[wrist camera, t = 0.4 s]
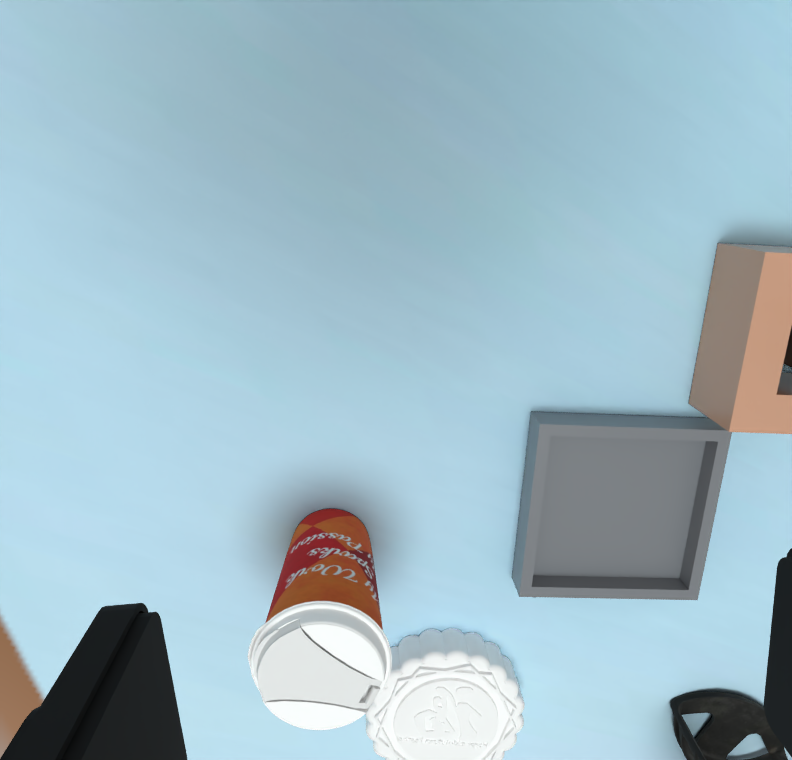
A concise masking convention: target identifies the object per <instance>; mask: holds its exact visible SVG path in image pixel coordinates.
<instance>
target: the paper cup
mask: <svg viewBox="0 0 792 760" xmlns="http://www.w3.org/2000/svg"><path fill="white" fill-rule="evenodd" d="M248 660H249V664H250V668H251V673H252V677H253V679H254V682H255V684H256V686H257V688H258V689H259V691H260V693H261V696H262V699H263V702H264V704H265V705H266V706H267V708H268V709H269V710H270V711H271V712H272V713H273V714H275V715H276V716H277V717H278V718H280V719H281V720H283V721H285V722H287V723H289V724H291V725H294V726H296V727H300V728H304V729H311V730H328V729H335V728H338V727H342V726H345V725H347V724H350V723H352V722H354V721H355V720H357V719H359V718H360V717H362V716H363V715H364V714H365V713H366V712H367V711H368V708H369V706H370V705H372V703H373V702H374V700H375V699H376V698H377V696H378V695H379V694H380V693H381V691H382V690H383V688H384V687H385V685H386V683H387V681H388V678H389V676H390V671H391V666H392V655H391V648H390V645H389V642H388V639H387V637H386V635H385V634H384V632H383V629H382V621H381V614H380V606H379V599H378V591H377V584H376V576H375V569H374V562H373V555H372V549H371V543H370V539H369V535H368V532H367V530H366V528H365V526H364V525H363V523H362V522H361V521H360V520H359V519H358V518H357V517H356V516H354V515H353V514H351V513H349V512H347V511H344V510H340V509H322V510H319V511H316V512H314V513H312V514H310V515H308V516H307V517H306V518H304V519H303V520H302V521H301V523H300V524H299V525H298V527H297V528H296V530H295V533H294V535H293V537H292V540H291V543H290V546H289V549H288V552H287V555H286V558H285V562H284V565H283V568H282V571H281V574H280V577H279V581H278V584H277V587H276V590H275V594H274V597H273V600H272V603H271V607H270V610H269V613H268V616H267V620H266V623H265V624H264V625H263V626H261V627H260V628H259V629H258V630H257V631H256V633H255V635H254V636H253V638H252V641H251V644H250V647H249V652H248Z"/></svg>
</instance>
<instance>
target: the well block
mask: <svg viewBox="0 0 792 760" xmlns="http://www.w3.org/2000/svg"><path fill="white" fill-rule="evenodd" d="M791 326H792V247H786V246H766V245H747V244H727V243H718V245H717V251H716V256H715V262H714V267H713V272H712V278H711V283H710V289H709V294H708V300H707V305H706V311H705V316H704V322H703V327H702V333H701V338H700V343H699V349H698V354H697V360H696V365H695V371H694V376H693V382H692V387H691V393H690V398H689V403H688V404H690V405H691V406H693V407H694V408H696V409H697V410H698V411H700V412H701V413H703V414H704V415H706V416H707V417H708V418H710V419H711V420H713V421H714V422H716V423H717V424H719V425H720V426H721V427H723V428H724V429H726V430H727V431H729V432H750V433H779V434H792V373H785V372H782V367H783V363H784V358H785V354H786V349H787V344H788V340H789V335H790V331H791Z"/></svg>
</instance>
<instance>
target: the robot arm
mask: <svg viewBox="0 0 792 760" xmlns="http://www.w3.org/2000/svg"><path fill="white" fill-rule="evenodd" d="M764 710H765V715H766V718H767V721H768V724H769V726H770V728H771V729H772V731H773V733H774V734H775V735H776V737H777V738H778V739H779V741H780V742H781V743H782V745H783V746H784V747H785V749H786V750H787V751H788V753H789V754H790V755H791V757H792V548H791V549H790V550H789V552H788V554H787V557H785V558H782V559H780V561H779V563H778V566H777V575H776V585H775V595H774V605H773V615H772V625H771V636H770V646H769V656H768V666H767V676H766V686H765V696H764ZM0 760H187V754H186V749H185V744H184V739H183V733H182V728H181V723H180V718H179V712H178V707H177V702H176V697H175V691H174V686H173V681H172V676H171V670H170V665H169V660H168V655H167V649H166V644H165V639H164V634H163V628H162V623H161V619H160V616H159V614H158V613H157V612H150V613H148V609H147V608H146V606H145V605H144V604H143V603H137V604H125V605H114V606H105V607H102V608H101V609H100V611H99V612H98V613H97V615H96V617H95V618H94V620H93V622H92V623H91V625H90V626H89V628H88V630H87V631H86V633H85V635H84V636H83V638H82V639H81V641H80V643H79V644H78V646H77V648H76V649H75V651H74V652H73V654H72V656H71V657H70V659H69V661H68V662H67V664H66V666H65V667H64V669H63V670H62V672H61V674H60V675H59V677H58V679H57V680H56V682H55V683H54V685H53V687H52V688H51V690H50V692H49V693H48V695H47V696H46V698H45V700H44V701H43V703H42V705H41V706H40V707H38V708H36V709H34V710H33V711H32V712H31V713H30V714H29V715H28V716H27V718H26V719H25V720H24V722H23V723H22V725H21V727H20V728H19V730H18V731H17V733H16V735H15V736H14V738H13V739H12V741H11V743H10V744H9V746H8V747H7V749H6V750H5V752H4V754H3V755H2V757H1V759H0Z"/></svg>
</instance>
